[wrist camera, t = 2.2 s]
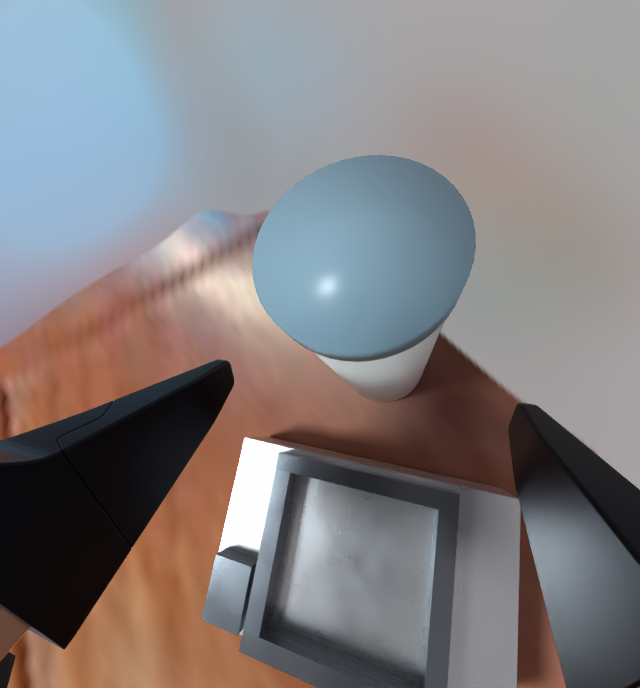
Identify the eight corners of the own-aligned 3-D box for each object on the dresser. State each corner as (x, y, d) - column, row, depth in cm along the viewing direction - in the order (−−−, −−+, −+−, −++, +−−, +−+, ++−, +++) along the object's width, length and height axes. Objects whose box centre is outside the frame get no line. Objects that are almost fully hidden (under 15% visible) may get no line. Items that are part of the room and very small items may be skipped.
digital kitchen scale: (492, 690, 14) (528, 792, 10) (233, 589, 18) (188, 633, 14) (499, 487, 16) (531, 506, 12) (266, 436, 20) (234, 438, 16)
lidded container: (420, 410, 18) (467, 367, 6) (337, 396, 20) (230, 339, 7) (428, 329, 19) (481, 147, 7) (349, 322, 21) (276, 162, 8)
